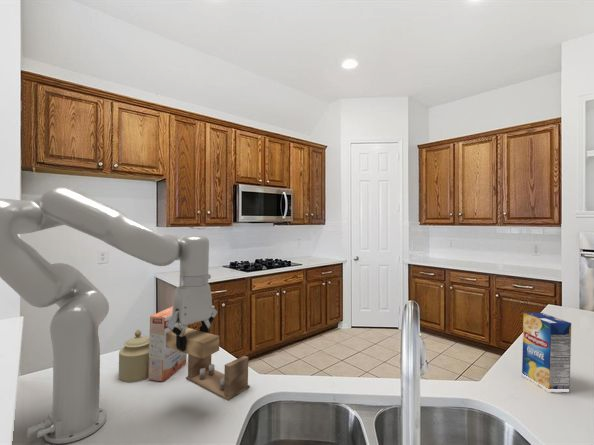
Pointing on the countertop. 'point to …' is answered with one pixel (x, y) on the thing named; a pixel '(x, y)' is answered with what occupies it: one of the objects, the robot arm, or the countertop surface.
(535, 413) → the countertop surface
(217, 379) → the rack
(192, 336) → the light wood rectangular block
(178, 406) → the countertop surface
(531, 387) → the countertop surface
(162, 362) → the cracker box
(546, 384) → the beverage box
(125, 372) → the sugar bowl
